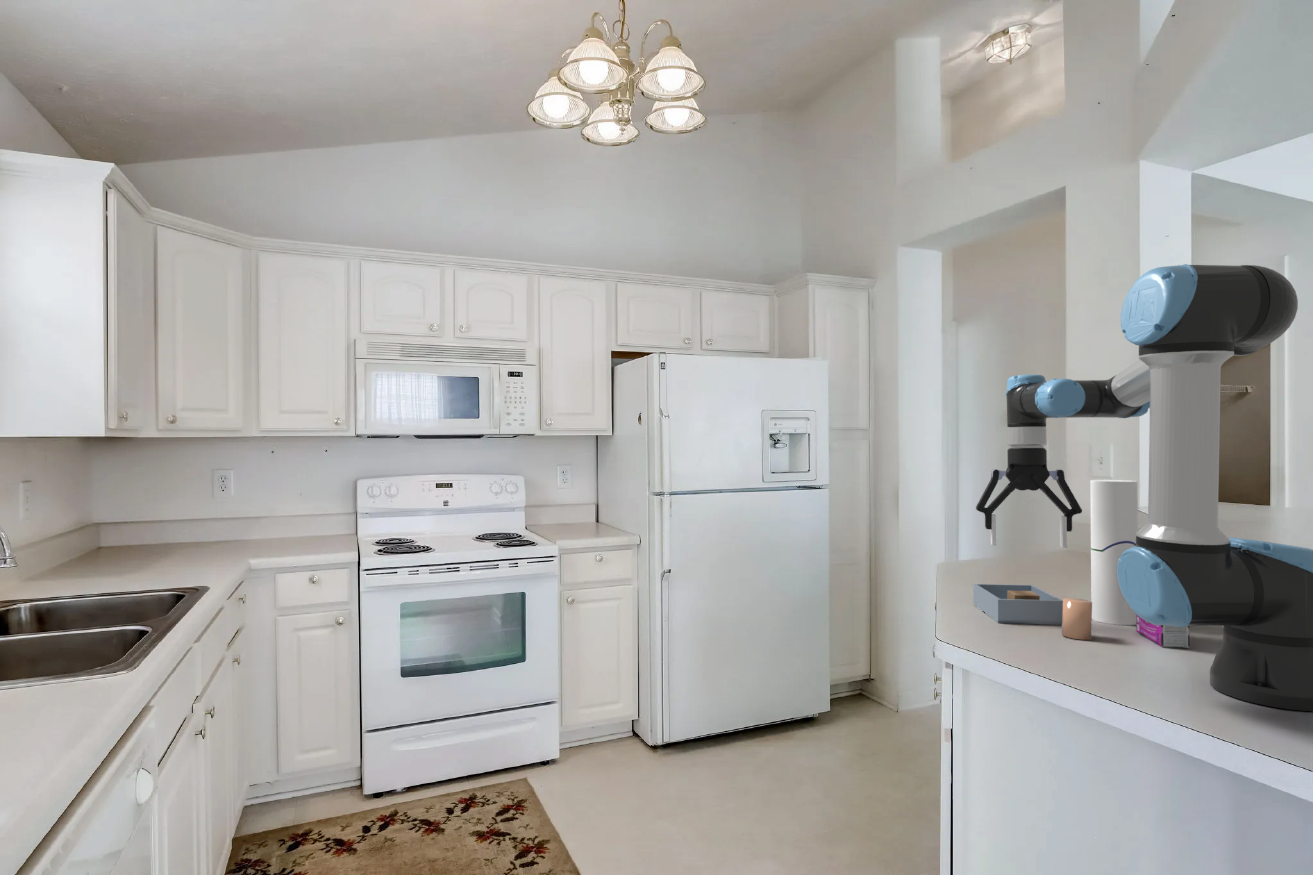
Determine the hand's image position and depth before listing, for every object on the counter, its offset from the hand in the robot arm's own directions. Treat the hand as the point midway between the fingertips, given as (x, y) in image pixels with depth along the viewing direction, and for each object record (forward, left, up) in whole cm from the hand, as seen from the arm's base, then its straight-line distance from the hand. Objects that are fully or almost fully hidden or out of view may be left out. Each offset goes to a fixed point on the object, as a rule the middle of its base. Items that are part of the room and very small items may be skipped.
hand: (1027, 545), depth 155 cm
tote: (+6, +1, -16) cm, 17 cm away
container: (+3, -18, -16) cm, 25 cm away
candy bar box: (-13, -19, -16) cm, 29 cm away
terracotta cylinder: (-12, -4, -16) cm, 21 cm away
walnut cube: (+2, +1, -15) cm, 15 cm away
